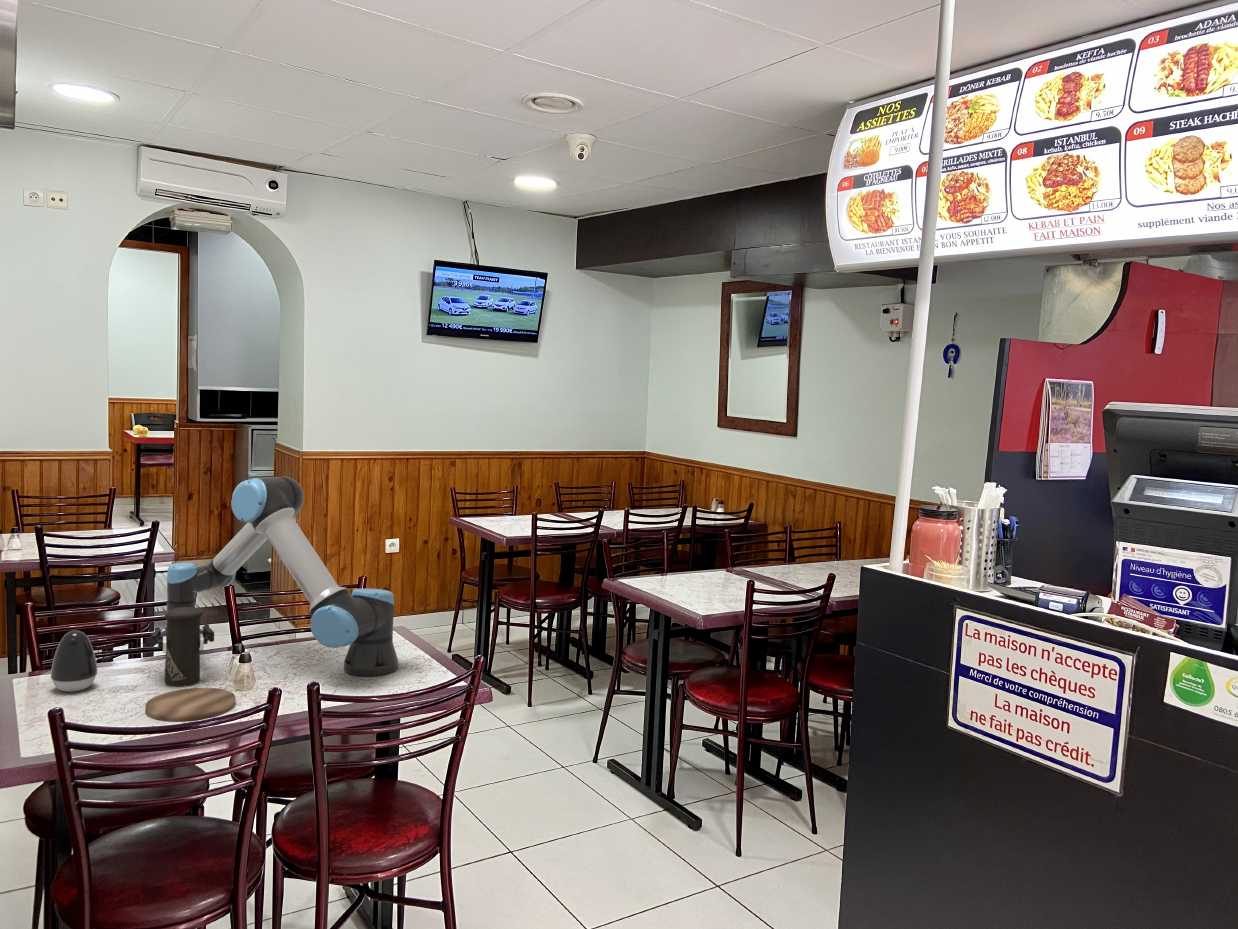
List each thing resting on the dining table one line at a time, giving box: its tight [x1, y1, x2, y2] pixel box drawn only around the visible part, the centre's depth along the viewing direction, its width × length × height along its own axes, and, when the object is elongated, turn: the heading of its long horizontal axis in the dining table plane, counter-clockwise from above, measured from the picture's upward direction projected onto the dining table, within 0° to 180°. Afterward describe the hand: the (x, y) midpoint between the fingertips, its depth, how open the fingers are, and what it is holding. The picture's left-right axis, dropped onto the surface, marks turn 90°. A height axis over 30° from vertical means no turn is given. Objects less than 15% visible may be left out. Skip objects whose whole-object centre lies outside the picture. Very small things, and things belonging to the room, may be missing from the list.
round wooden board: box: [144, 687, 236, 722], centre depth 218 cm, size 20×20×2 cm
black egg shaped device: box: [50, 629, 98, 693], centre depth 226 cm, size 10×10×15 cm
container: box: [164, 606, 203, 687], centre depth 235 cm, size 9×9×20 cm
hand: (183, 646), depth 231 cm, fingers closed on container, 8 cm apart
